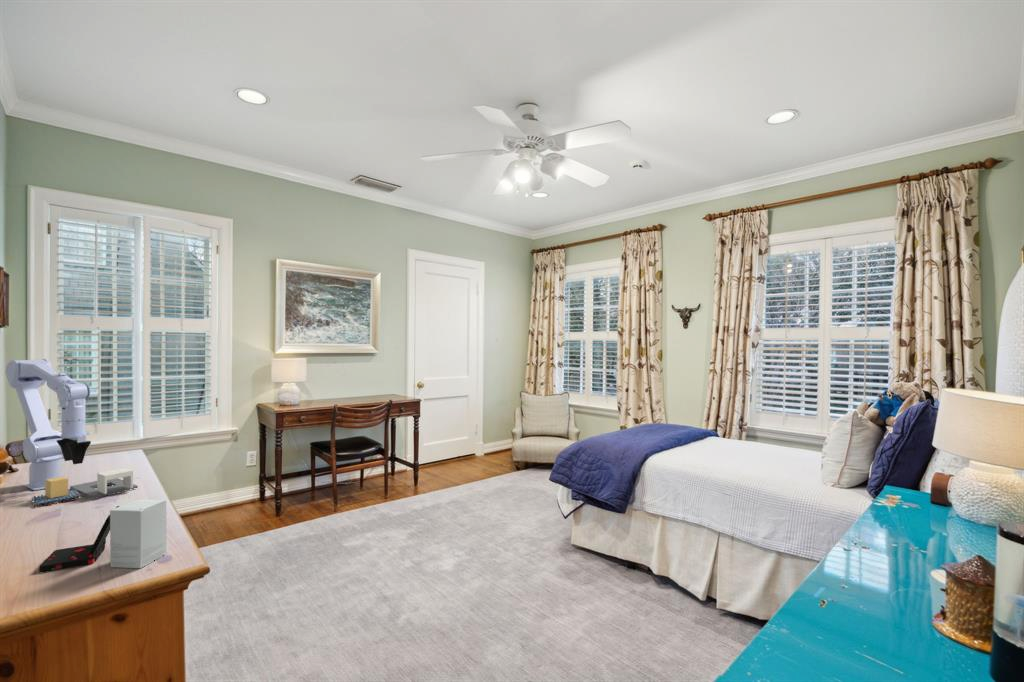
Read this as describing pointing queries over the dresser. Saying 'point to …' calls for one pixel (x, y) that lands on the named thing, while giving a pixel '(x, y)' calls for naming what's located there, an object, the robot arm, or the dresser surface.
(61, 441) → the robot arm
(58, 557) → the handheld gaming console
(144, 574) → the dresser surface
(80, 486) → the puzzle board
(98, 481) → the cover
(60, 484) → the ochre block
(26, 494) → the dresser surface
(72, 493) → the woven mat
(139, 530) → the supplement box
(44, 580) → the dresser surface
